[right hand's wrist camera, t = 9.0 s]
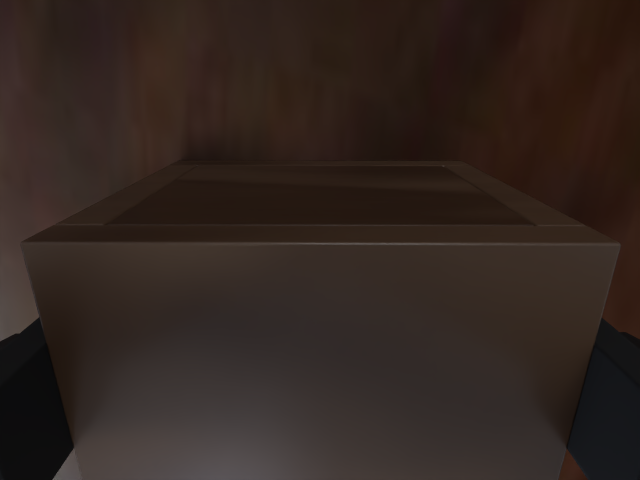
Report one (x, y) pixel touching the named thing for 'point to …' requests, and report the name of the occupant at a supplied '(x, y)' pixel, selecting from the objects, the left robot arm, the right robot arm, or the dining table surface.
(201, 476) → the cabinet
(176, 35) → the dining table surface
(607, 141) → the dining table surface
